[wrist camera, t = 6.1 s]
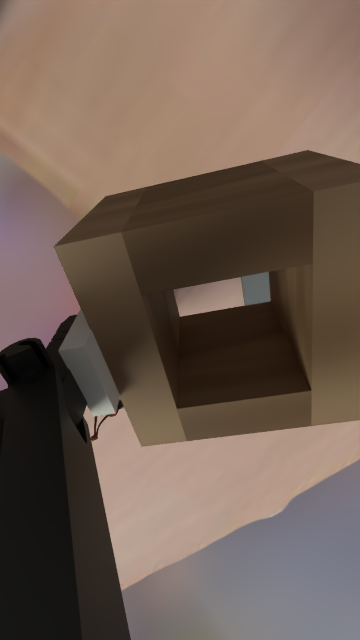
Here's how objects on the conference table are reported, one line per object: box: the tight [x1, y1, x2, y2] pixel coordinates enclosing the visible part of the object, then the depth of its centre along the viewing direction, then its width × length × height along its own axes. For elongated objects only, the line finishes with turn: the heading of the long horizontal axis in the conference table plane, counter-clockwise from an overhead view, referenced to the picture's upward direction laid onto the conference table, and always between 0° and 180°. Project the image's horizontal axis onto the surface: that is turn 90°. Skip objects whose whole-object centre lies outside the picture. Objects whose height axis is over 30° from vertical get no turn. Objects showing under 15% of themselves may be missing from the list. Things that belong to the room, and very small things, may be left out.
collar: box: [54, 150, 360, 446], centre depth 12 cm, size 8×8×6 cm
